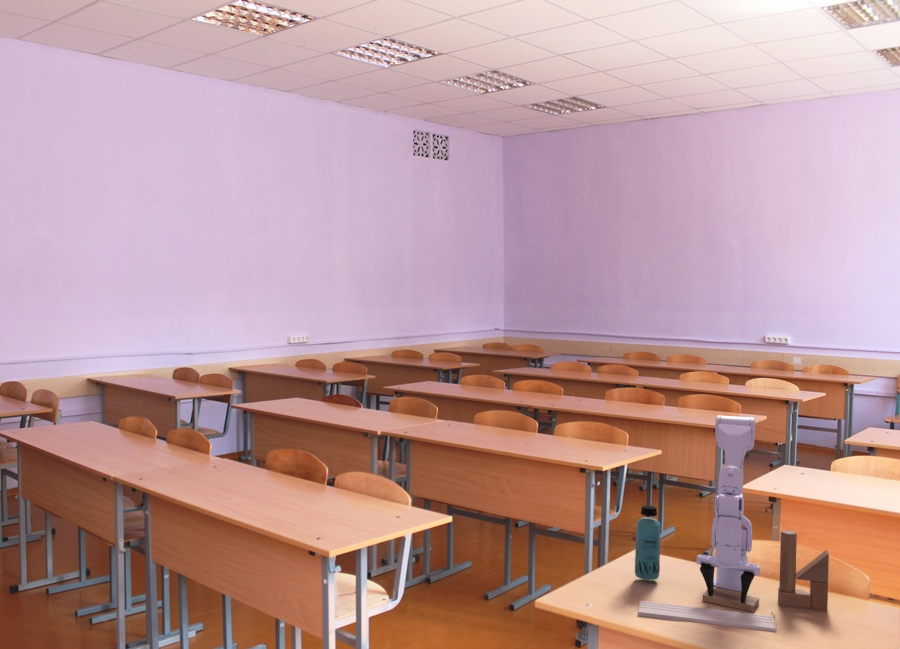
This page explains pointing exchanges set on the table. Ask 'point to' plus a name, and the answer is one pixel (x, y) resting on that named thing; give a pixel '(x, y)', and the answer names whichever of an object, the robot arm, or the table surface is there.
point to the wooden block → (802, 577)
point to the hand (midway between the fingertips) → (726, 598)
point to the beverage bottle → (647, 545)
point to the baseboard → (706, 615)
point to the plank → (731, 600)
